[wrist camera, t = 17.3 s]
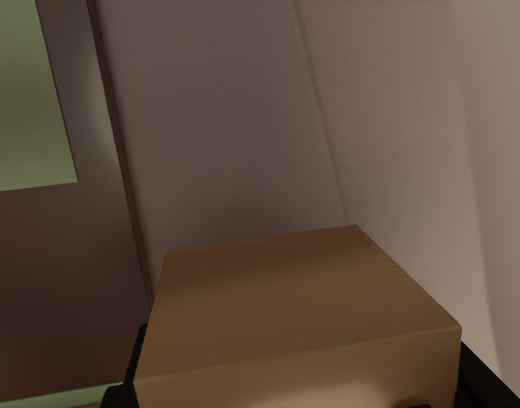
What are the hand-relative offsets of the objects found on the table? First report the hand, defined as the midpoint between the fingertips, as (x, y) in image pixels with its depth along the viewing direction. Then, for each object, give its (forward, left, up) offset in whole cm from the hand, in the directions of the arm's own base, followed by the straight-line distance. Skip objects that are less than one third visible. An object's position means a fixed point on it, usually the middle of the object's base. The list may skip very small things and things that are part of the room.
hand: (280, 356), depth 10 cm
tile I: (0, 0, -1) cm, 1 cm away
